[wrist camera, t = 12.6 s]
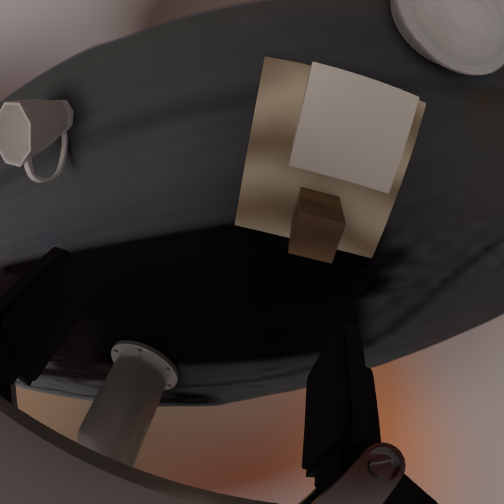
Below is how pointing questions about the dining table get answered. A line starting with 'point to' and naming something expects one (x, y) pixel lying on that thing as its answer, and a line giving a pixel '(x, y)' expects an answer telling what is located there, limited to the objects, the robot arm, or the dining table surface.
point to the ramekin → (454, 32)
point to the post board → (307, 179)
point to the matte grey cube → (352, 127)
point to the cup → (33, 131)
